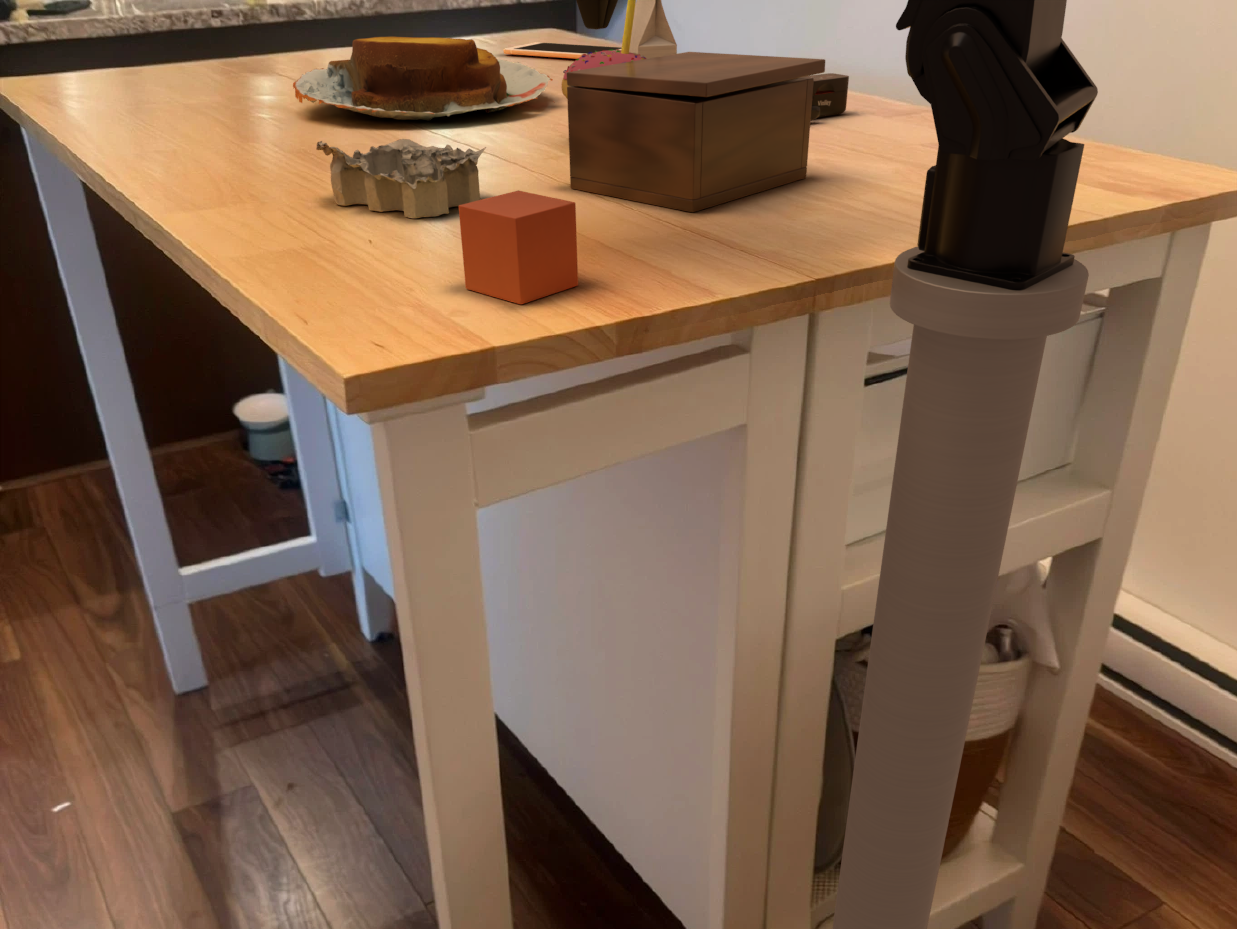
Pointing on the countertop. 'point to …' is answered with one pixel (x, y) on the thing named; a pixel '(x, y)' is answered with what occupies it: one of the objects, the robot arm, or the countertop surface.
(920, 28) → the robot arm
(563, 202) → the block
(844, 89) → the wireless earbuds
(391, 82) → the food on plate
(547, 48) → the cell phone
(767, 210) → the countertop surface
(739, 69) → the lid
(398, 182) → the egg carton
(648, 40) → the tea bag
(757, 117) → the chest
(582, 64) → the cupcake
